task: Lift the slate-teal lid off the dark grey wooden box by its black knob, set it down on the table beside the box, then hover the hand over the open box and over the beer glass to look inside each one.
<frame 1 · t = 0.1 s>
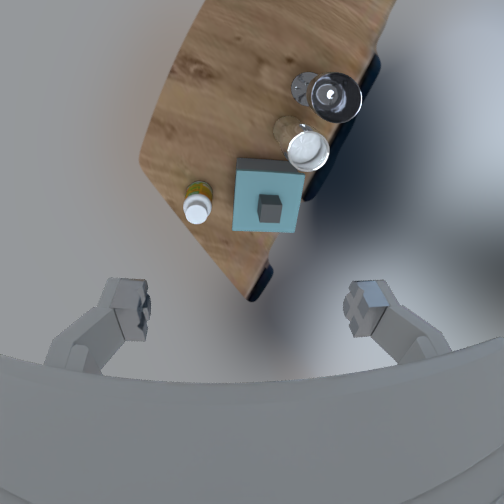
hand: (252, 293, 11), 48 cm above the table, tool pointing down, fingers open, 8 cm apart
supplement bottle: (199, 192, 60), on the table
lid: (266, 201, 53), point 8 cm above the table, touching storage box
wine glass: (308, 89, 49), on the table
beer glass: (288, 130, 53), on the table
storage box: (261, 184, 60), on the table
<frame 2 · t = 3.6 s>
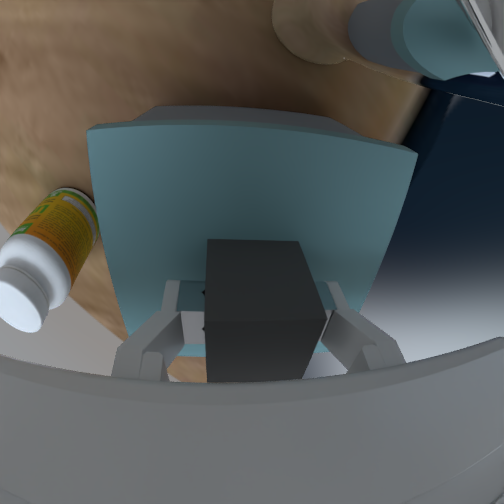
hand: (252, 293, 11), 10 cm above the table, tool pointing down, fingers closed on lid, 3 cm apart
supplement bottle: (73, 216, 19), on the table
lid: (247, 260, 13), point 8 cm above the table, touching gripper, storage box
beer glass: (319, 21, 13), on the table
storage box: (237, 187, 19), on the table
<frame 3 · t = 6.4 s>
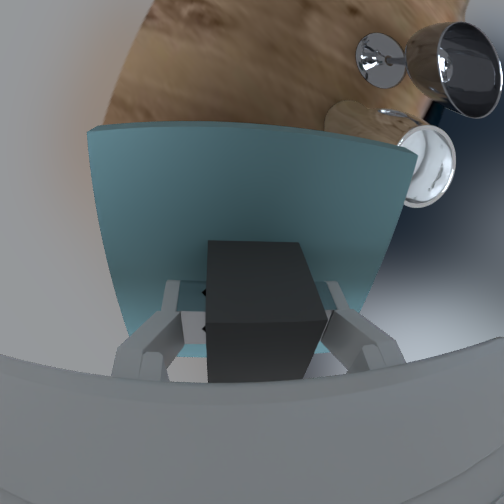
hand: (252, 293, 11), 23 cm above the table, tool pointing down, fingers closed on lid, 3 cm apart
lid: (248, 261, 13), point 21 cm above the table, touching gripper
wine glass: (381, 60, 25), on the table
beer glass: (347, 124, 30), on the table
when the fingers open (4 cm above the table, at t = 9.6 s): lid drops 2 cm, on the table.
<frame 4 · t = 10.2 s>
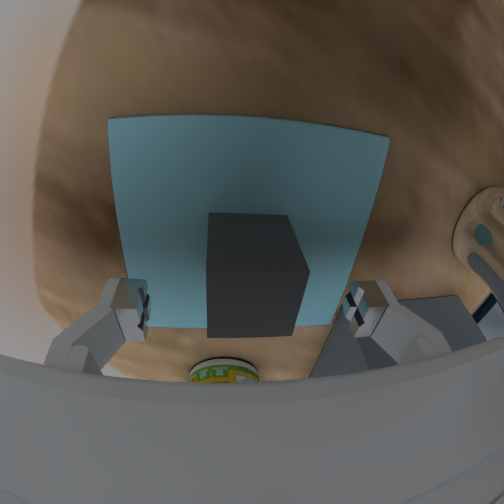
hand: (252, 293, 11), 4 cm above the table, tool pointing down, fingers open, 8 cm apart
supplement bottle: (223, 372, 21), on the table
lid: (243, 234, 15), on the table
beer glass: (480, 223, 15), on the table
storage box: (380, 347, 21), on the table
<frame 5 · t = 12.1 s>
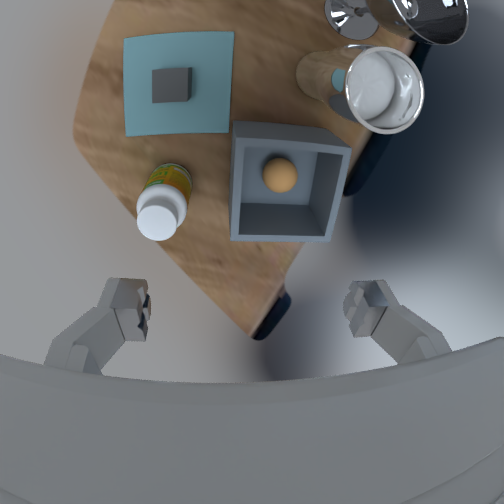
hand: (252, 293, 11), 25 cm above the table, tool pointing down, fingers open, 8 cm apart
supplement bottle: (171, 182, 34), on the table
lid: (177, 82, 27), on the table
orange ball: (280, 175, 32), point 3 cm above the table, touching storage box
wine glass: (352, 13, 23), on the table
beer glass: (320, 75, 28), on the table
storage box: (275, 166, 34), on the table
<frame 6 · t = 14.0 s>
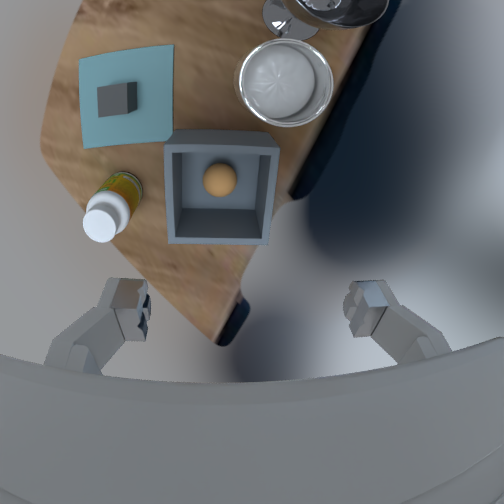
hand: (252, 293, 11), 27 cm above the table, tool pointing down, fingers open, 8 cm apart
supplement bottle: (124, 189, 35), on the table
lid: (125, 96, 29), on the table
orange ball: (219, 180, 33), point 3 cm above the table, touching storage box
wine glass: (292, 15, 25), on the table
beer glass: (260, 79, 29), on the table
storage box: (219, 172, 35), on the table
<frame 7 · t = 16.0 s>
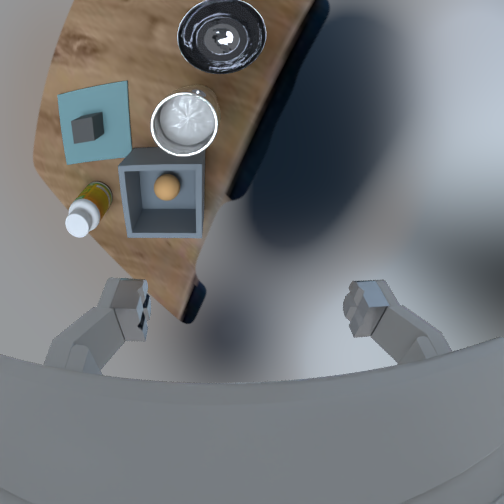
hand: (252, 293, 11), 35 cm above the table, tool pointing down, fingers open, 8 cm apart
supplement bottle: (99, 194, 43), on the table
lid: (95, 123, 37), on the table
orange ball: (167, 187, 41), point 3 cm above the table, touching storage box
wine glass: (221, 45, 32), on the table
beer glass: (196, 104, 37), on the table
storage box: (169, 180, 43), on the table
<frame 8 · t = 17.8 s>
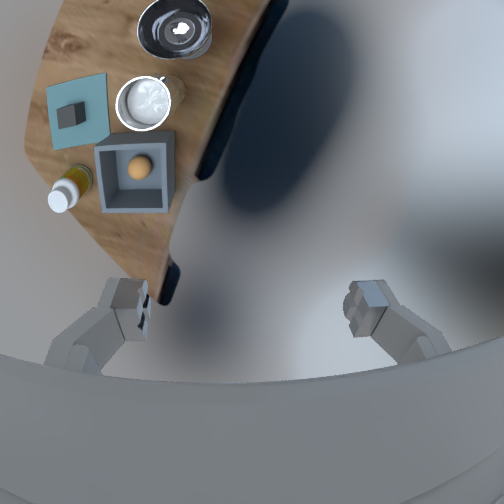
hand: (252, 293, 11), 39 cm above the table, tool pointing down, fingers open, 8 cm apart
supplement bottle: (81, 177, 45), on the table
lid: (79, 111, 39), on the table
orange ball: (139, 167, 43), point 3 cm above the table, touching storage box
wine glass: (189, 39, 34), on the table
beer glass: (166, 92, 39), on the table
storage box: (143, 162, 45), on the table
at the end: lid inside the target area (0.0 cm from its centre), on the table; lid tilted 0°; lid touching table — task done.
